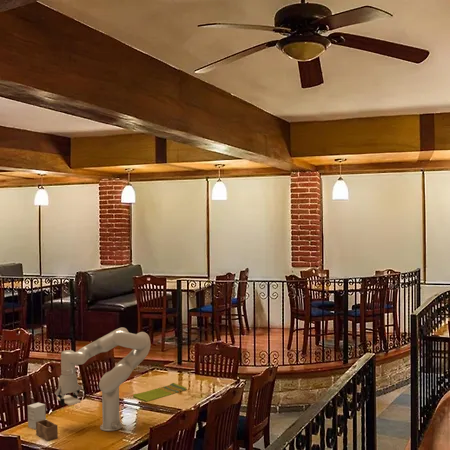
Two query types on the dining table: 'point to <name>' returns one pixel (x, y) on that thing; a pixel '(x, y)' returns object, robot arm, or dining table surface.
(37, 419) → the supplement box
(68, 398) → the lid
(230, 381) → the dining table surface
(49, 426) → the crate
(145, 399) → the dish towel
